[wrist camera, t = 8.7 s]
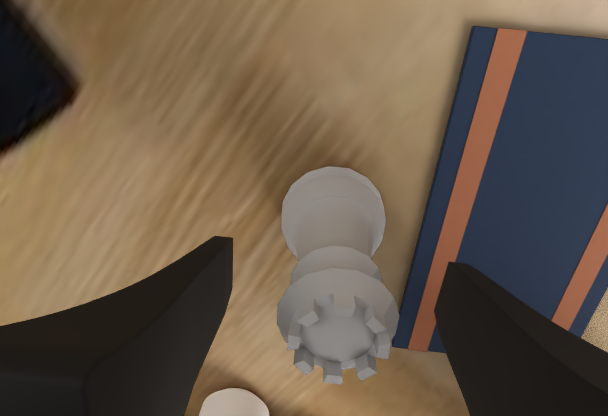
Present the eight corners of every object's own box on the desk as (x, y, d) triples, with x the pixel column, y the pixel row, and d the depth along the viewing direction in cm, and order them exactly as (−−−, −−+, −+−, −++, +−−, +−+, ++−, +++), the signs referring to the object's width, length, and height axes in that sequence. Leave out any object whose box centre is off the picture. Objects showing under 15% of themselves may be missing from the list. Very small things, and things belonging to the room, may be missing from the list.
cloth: (562, 361, 19) (565, 367, 19) (391, 343, 19) (392, 347, 19) (726, 52, 13) (736, 51, 12) (472, 26, 13) (475, 25, 12)
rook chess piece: (355, 143, 15) (385, 237, 7) (399, 229, 16) (460, 377, 9) (263, 191, 16) (211, 315, 8) (312, 267, 17) (304, 428, 10)
